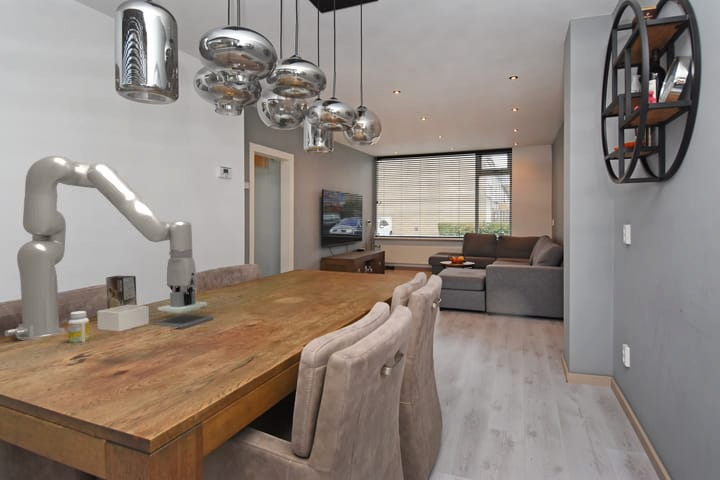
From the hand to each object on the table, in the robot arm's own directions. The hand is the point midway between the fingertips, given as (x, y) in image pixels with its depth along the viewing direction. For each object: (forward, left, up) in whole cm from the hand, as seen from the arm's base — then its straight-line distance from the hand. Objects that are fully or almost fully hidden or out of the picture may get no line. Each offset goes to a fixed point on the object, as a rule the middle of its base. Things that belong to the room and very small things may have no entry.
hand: (183, 303), depth 151 cm
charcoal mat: (0, 0, -7) cm, 7 cm away
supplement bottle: (-31, +11, -7) cm, 34 cm away
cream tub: (-13, +14, -7) cm, 21 cm away
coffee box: (+1, +32, -7) cm, 33 cm away
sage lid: (0, 0, -2) cm, 2 cm away
